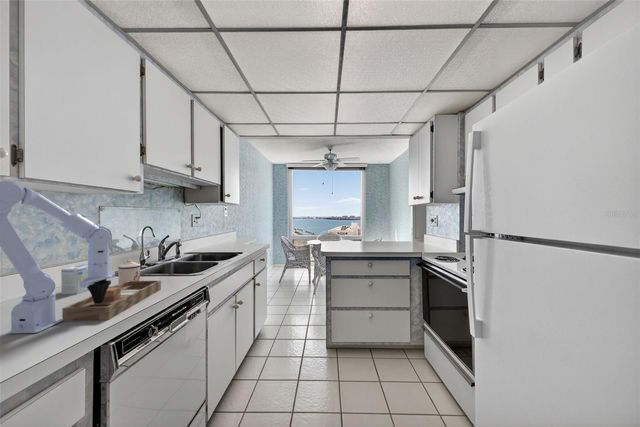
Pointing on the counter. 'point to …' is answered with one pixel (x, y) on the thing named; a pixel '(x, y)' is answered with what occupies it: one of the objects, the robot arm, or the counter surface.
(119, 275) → the teacup with lid
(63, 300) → the counter surface
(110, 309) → the track
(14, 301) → the counter surface
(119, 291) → the block
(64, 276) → the light bulb box
